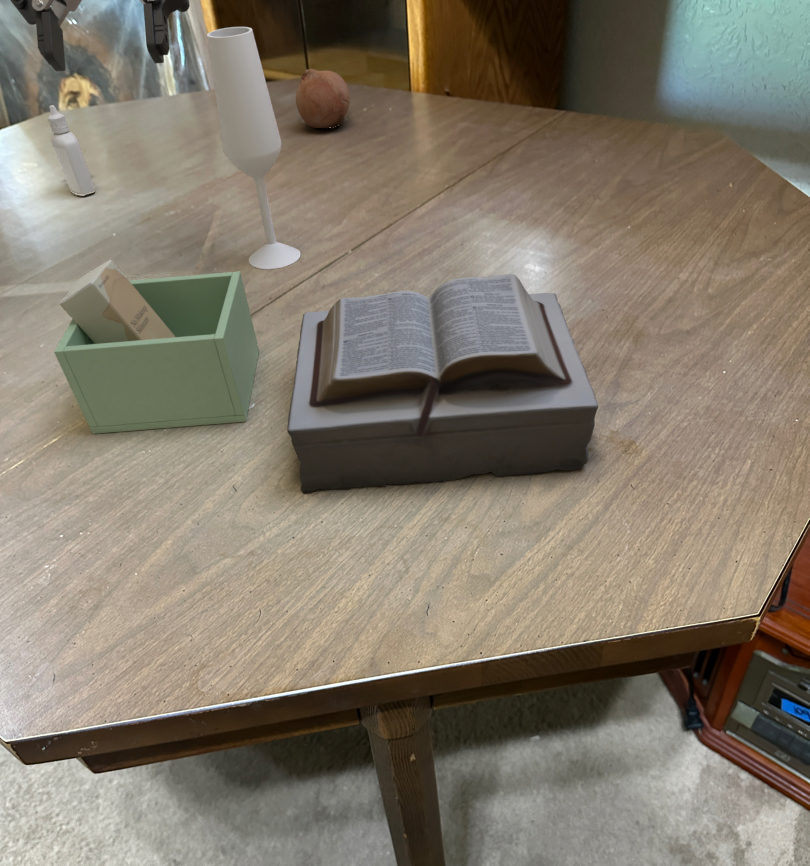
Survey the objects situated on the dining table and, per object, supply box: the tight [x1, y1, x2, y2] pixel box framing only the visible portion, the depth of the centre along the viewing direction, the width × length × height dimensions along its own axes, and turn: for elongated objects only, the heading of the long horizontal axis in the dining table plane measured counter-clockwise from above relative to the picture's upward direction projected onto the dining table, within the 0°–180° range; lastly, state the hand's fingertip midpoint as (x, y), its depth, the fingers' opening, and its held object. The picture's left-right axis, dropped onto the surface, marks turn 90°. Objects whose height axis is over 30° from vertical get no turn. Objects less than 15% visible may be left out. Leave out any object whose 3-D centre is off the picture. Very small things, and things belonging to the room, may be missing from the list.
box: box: [59, 259, 175, 344], centre depth 67 cm, size 5×4×11 cm
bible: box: [286, 273, 599, 494], centre depth 63 cm, size 23×27×10 cm
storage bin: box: [53, 270, 260, 435], centre depth 69 cm, size 15×13×9 cm
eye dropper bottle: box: [46, 104, 96, 194], centre depth 109 cm, size 4×6×12 cm
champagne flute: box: [206, 26, 301, 270], centre depth 83 cm, size 7×7×24 cm
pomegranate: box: [295, 68, 351, 129], centre depth 125 cm, size 10×9×10 cm
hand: (105, 61), depth 61 cm, fingers open, 8 cm apart
